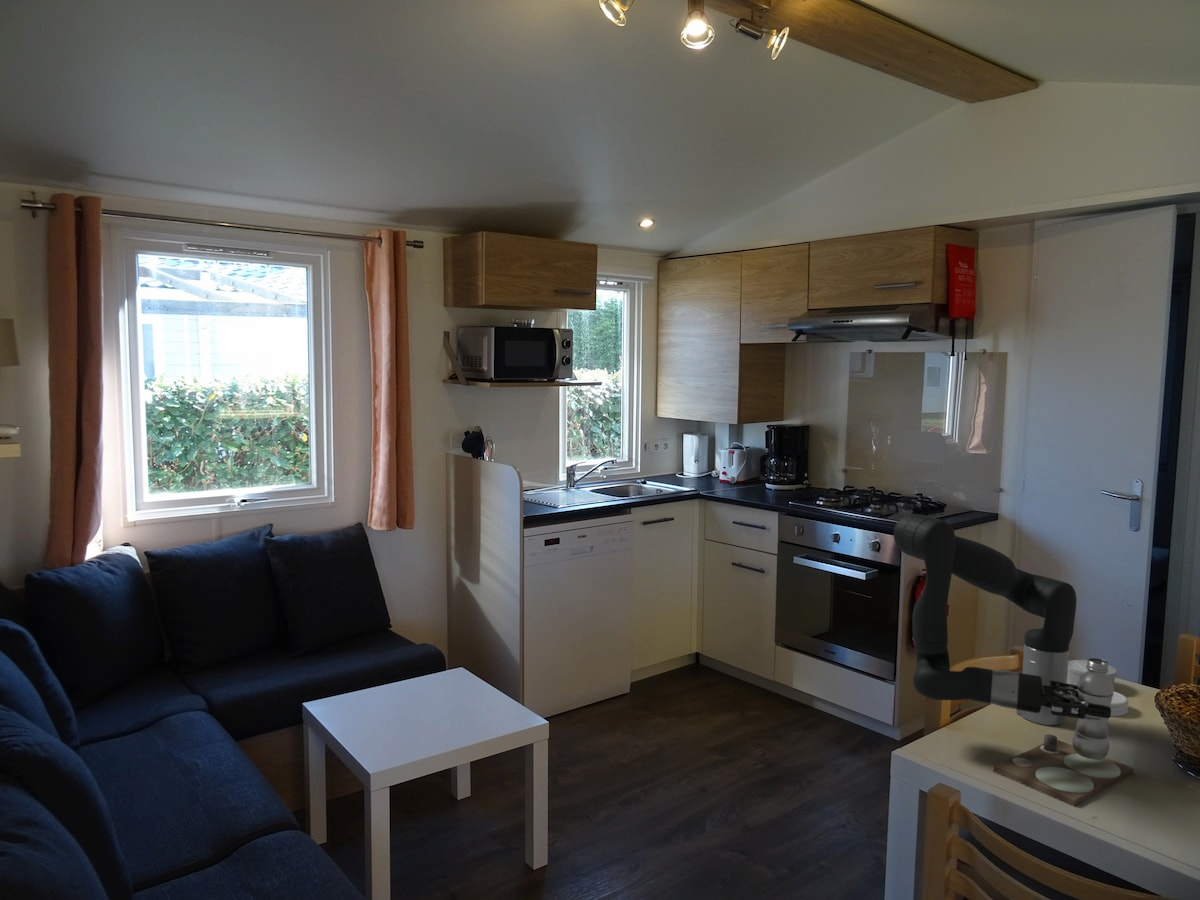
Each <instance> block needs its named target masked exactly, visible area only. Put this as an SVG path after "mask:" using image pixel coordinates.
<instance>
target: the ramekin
mask: <svg viewBox="0 0 1200 900" xmlns="http://www.w3.org/2000/svg"><path fill="white" fill-rule="evenodd" d="M1087 662H1088V659H1074V660H1068V673H1067V678H1068V681H1069V684H1072V685H1077V686H1078V681H1079V679H1080V678H1081V677H1082V675H1083V674H1085V673H1086V672H1087V671H1088V669H1087V668H1086V666H1087ZM1106 674H1107V676H1108V677H1109V679H1110V680H1111V682H1112V684H1113V685H1114V683H1115V681H1116V680H1115V679H1116V676H1117V674H1118V670H1117V669H1116V668H1115V667H1113V666H1111V665H1109V664H1108V673H1106Z"/></svg>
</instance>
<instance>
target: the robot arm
mask: <svg viewBox="0 0 1200 900" xmlns="http://www.w3.org/2000/svg"><path fill="white" fill-rule="evenodd" d="M893 538H894V539H893V540H894V542H895V544H896V545H897V547H898V549H900V551H901V552H902V553H904V554H906V555H907V556H910V557H913V558H916V559H919V560H922V561H924V566H925V574H926V576H925V582H924V586H923V590H922V591H921V593H920V595H919V596H918V598H917V600H916V602H915V603H914V606H913V610H912V616H911V618H912V619H911V620H912V638H913V639H912V640H913V645H914V648H915V651H916V657H915V659H916V661H915V662H916V665H915V670H914V673H913V679H912V682H913V683H912V684H913V687H914V689H915V691H916V692H918V694H920V695H921V696H923V697H925V698H928V699H931V700H936V701H965V700H970V701H974V702H979V703H985V704H990V705H994V706H998V707H1000V708H1007V709H1012V710H1016V714H1017V715H1020V716H1021V717H1022V718H1023V719H1026V720H1027V721H1029V722H1033V723H1035V724H1041V725H1045V726H1046V725H1047V726H1058V725H1062V724H1064V723H1065V720H1066V719H1065V718H1066V717H1068V718H1075V719H1078V718H1080V719H1085V716H1088V715H1091V716H1097V717H1103V718H1108V719H1110V718H1111V717H1112V716H1111V708H1110V707H1109V706H1103V705H1097V704H1091V703H1087V702H1083V701H1080V700H1079V699H1078V686H1077V685H1072V684H1071V683H1068V662H1069V653H1070V643H1071V640H1072V638H1073V635H1074V627H1075V618H1076V612H1077V610H1076V609H1077V593H1076V591H1075V588H1074V587H1073V586H1072V585H1071V584H1070V583H1069V582H1065V581H1061V580H1058V579H1055V578H1050V577H1046V576H1041V575H1038V574H1033V573H1030V572H1027V571H1024V570H1021V569H1019V568H1017V567H1016V565H1015V563H1014V562H1013V560H1012V559H1011V558H1010V557H1009V556H1007V555H1006V554H1004V553H1002V552H1000V551H998V550H996V549H994V548H993V547H990V546H988V545H985V544H983V543H980V542H977V541H974V540H972V539H968V538H964V537H960V536H957V535H956V533H955V531H954V527H952V525H951V524H950V523H948V522H947V521H945V520H942V519H939V518H936V517H932V516H928V515H925V514H918V513H912V514H908V515H905V516H903V517H902V518H900V519H899V520H898V521H897V522H896V523H895V526H894V528H893ZM952 575H954V576H956V577H958V578H959V579H960V580H963V581H965V582H966V583H968V584H970V585H972V586H974V587H975V588H978V589H981V590H983V591H984V592H988V593H990V594H992V595H993V594H994V595H997V596H1000V597H1001V596H1002V597H1004V598H1005V599H1007V600H1009V601H1010V602H1012V603H1013V604H1014V605H1016V606H1018V607H1019V608H1020V609H1022V610H1024V611H1025V612H1027V613H1029V614H1032V615H1035V616H1037V617H1040V618H1044V622H1043V627H1042V628H1032V629H1029V630H1026V632H1025V633H1024V641H1023V642H1024V643H1023V655H1022V656H1023V657H1022V658H1023V659H1022V660H1023V663H1022V672H1015V671H1011V670H1010V671H1009V670H1001V669H999V670H997V669H989V668H984V667H979V666H977V667H976V666H966V667H964V669H962V670H961V671H960V670H959V671H958V670H956V671H954V670H951V667H950V666H951V664H950V662H951V661H950V655H949V654H950V653H949V649H948V642H949V636H948V635H949V634H948V631H949V630H948V601H949V594H950V586H951V581H952Z"/></svg>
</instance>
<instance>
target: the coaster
mask: <svg viewBox="0 0 1200 900" xmlns="http://www.w3.org/2000/svg"><path fill="white" fill-rule="evenodd" d="M1110 708H1111V716H1110V717H1122V716H1123V717H1124V716H1126V715H1127V714H1128V712H1129V710H1128V708H1129V699H1128V698H1127V697H1126V696H1125V695H1124V694H1122V693H1119V692H1117V691H1114V693H1113V697H1112V701H1111V705H1110Z"/></svg>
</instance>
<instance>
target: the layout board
mask: <svg viewBox="0 0 1200 900" xmlns="http://www.w3.org/2000/svg"><path fill="white" fill-rule="evenodd" d="M1134 770H1135V769H1134V767H1133V766H1129V765H1126V764H1123V763H1121V762H1118V761H1115V760H1114V759H1111V758H1107V757H1105V758H1103V759H1099V760H1095V759H1089V758H1086V757H1083V756H1081V755H1079V754H1077V753H1076V751H1075V750H1074V748H1073V744H1069V743H1068V742H1064V741H1061V740H1060V739H1058V737H1057V736H1056V735H1053V734H1044V737H1043V744H1039V745H1038V746H1036V747H1032V748H1031V749H1028V750H1026V751H1024V752H1022V753H1019V754H1017V755H1015V756H1013V757H1010V758H1009V759H1006V760H1004V761H1002V762H1000V763H998V764H994V765H993V772H994V773H995V772H997V773H996V774H998V773H999V774H998V775H1000V774H1001V775H1000V776H1002V775H1004V776H1003V777H1005V776H1006V777H1005V778H1007V777H1009V778H1011V779H1010V780H1012V779H1013V781H1014V780H1016V781H1018V782H1017V783H1019V782H1021V783H1023V784H1026V785H1028V786H1030V787H1032V788H1031V789H1033V788H1034V790H1035V789H1036V790H1035V791H1037V790H1038V791H1037V792H1040V791H1041V792H1040V793H1042V792H1043V794H1044V793H1045V795H1047V794H1048V795H1047V796H1049V795H1050V796H1049V797H1051V796H1053V797H1052V798H1054V799H1056V798H1057V799H1056V800H1058V799H1059V801H1061V802H1063V801H1064V802H1063V803H1065V802H1066V804H1068V803H1069V804H1068V805H1070V806H1072V805H1073V807H1075V806H1077V805H1078V803H1079V804H1081V803H1082V802H1084V801H1086V800H1088V799H1090V798H1092V797H1094V796H1095V795H1097V794H1099V793H1100V791H1101V792H1103V791H1105V790H1107V789H1108V788H1110V787H1112V786H1114V785H1116V784H1117V783H1119V782H1121V781H1122V780H1124V779H1127V778H1129V777H1130V776H1132V775H1134V774H1135V773H1134V772H1135V771H1134ZM1128 776H1129V777H1128ZM1126 777H1127V778H1126ZM1009 778H1008V779H1009ZM1016 781H1015V782H1016ZM1021 783H1020V784H1021ZM1023 784H1022V785H1023ZM1026 785H1025V786H1026ZM1028 786H1027V787H1028ZM1030 787H1029V788H1030ZM1093 795H1094V796H1093ZM1091 796H1092V797H1091ZM1089 797H1090V798H1089ZM1080 802H1081V803H1080ZM1076 804H1077V805H1076ZM1074 805H1075V806H1074Z"/></svg>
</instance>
